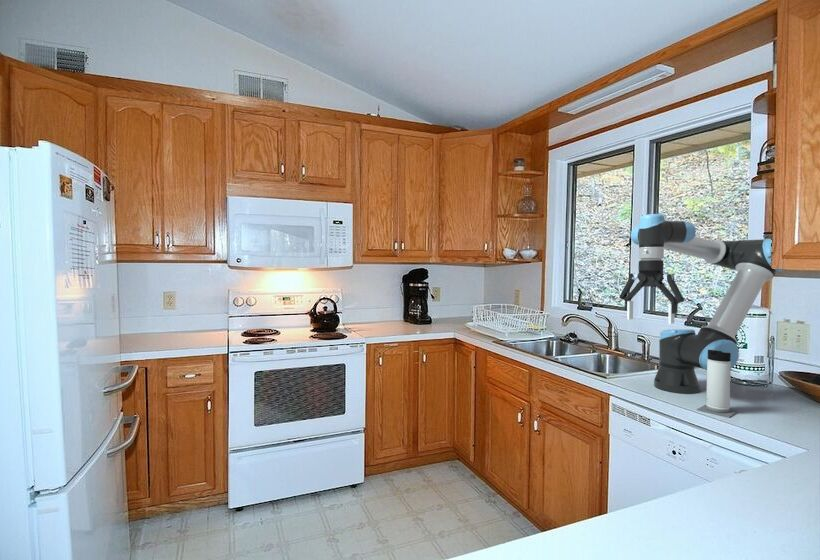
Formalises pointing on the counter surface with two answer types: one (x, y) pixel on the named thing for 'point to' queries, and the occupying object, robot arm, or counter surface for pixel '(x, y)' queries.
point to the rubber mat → (729, 414)
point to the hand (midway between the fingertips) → (649, 321)
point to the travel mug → (718, 381)
